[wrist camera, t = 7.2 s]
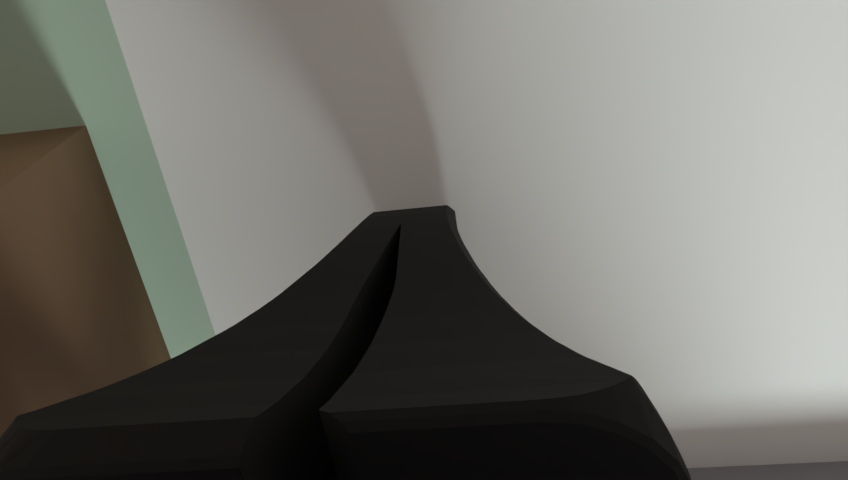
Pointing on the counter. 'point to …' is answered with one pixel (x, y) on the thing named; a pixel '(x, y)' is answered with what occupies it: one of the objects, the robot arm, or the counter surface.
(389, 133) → the box
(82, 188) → the walnut block
